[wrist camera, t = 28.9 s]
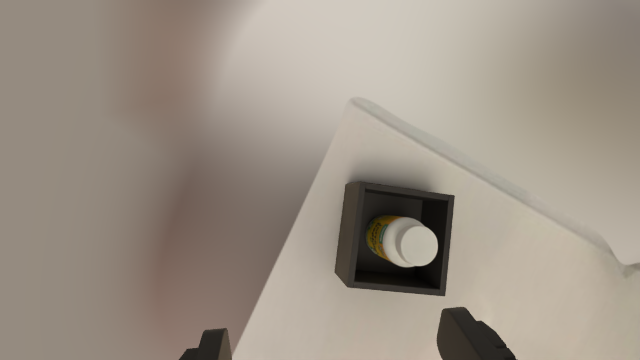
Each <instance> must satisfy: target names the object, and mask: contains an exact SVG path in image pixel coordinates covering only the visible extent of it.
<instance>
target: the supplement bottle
mask: <svg viewBox="0 0 640 360" xmlns="http://www.w3.org/2000/svg"><path fill="white" fill-rule="evenodd" d="M365 237H366V242H367V245H368V246H369V248H370V249H371V250H372V251H373V252H374V253H375V254H377V255H378V256H380V257H383V258H384V259H386V260H388V261H390V262H392V263H394V264H396V265H398V266H402V267H413V266H424V265H427V264H428V263H430V262H431V261H432V260H433V259H434V258H435V256H436V254H437V250H438V242H437V238H436V236H435V234H434V233H433V232H432V231H431V230H430V229H429V228H427V227H425V226H424V225H423V224H422V223H420V222H419V221H417V220H415V219H413V218H408V217H399V216H391V215H381V216H378V217H376V218H374V219H373V220H372V221H371V222H370V223H369V225H368V226H367V229H366V234H365Z"/></svg>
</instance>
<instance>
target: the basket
mask: <svg viewBox="0 0 640 360" xmlns="http://www.w3.org/2000/svg"><path fill="white" fill-rule="evenodd" d="M454 197H455V196H454V195H447V194H440V193H434V192H427V191H420V190H413V189H407V188H400V187H393V186H386V185H380V184H373V183H366V182H356V183H351V184H346V186H345V194H344V202H343V210H342V218H341V225H340V233H339V241H338V249H337V257H336V265H335V273H336V275H337V276H338V277H339V278H340V279H341V280H342V282H343V283H344V284H345V285H346V286H347V287H349V288H360V289H371V290H382V291H393V292H404V293H415V294H425V295H436V296H445V292H446V281H447V270H448V260H449V249H450V239H451V228H452V218H453V207H454ZM381 215H391V216H399V217H408V218H413V219H415V220H417V221H419V222H420V223H422V224H423V225H424V226H425V227H427V228H429V229H430V230H431V231H432V232H433V233H434V234H435V236H436V238H437V242H438V250H437V254H436V256H435V258H434V259H433V260H432V261H431V262H430V263H428V264H427V265H424V266H413V267H402V266H398V265H396V264H394V263H392V262H390V261H388V260H386V259H384V258H383V257H380V256H378V255H377V254H375V253H374V252H373V251H372V250H371V249H370V248H369V246H368V245H367V242H366V237H365V234H366V229H367V226H368V225H369V223H370V222H371V221H372V220H373V219H374V218H376V217H378V216H381Z"/></svg>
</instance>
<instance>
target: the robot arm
mask: <svg viewBox="0 0 640 360" xmlns="http://www.w3.org/2000/svg"><path fill="white" fill-rule="evenodd" d="M437 346H438V350H439V353H440V355H441V357H442V359H443V360H516V358H515V356H514V354H513V353H512V352H511V351H510V349H509V348H507V347H506V344H505V343H504V342H503V340H502V339H501V338H500V337H499V335H498V334H497V333H496V332H495V331H494V330H493V329H491V328H490V327H489V326H488V325H486V324H485V323H484V322H482V321H476V320H475V319H474V318H473V316H472V315H471V314H470V312H469V311H468V310H467V309H466V308H465V307H456V308H445V309H443V310H442V313H441V318H440V323H439V329H438V334H437ZM179 360H232V355H231V349H230V343H229V336H228V330H227V328H223V329H213V330H205V331H204V332H203V335H202V338H201V341H200V344H199V348H192V349H187V350H186V351H185V352H184V354H183V355H182V357H181V358H180V359H179ZM517 360H518V359H517Z"/></svg>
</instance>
